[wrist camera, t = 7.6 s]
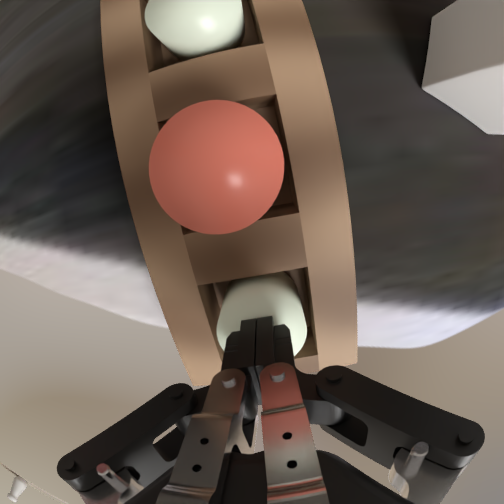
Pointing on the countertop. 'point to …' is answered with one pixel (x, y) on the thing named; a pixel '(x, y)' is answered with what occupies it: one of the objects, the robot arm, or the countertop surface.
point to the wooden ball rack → (285, 205)
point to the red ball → (216, 167)
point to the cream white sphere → (263, 306)
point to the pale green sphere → (196, 25)
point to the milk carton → (469, 61)
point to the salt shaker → (17, 488)
